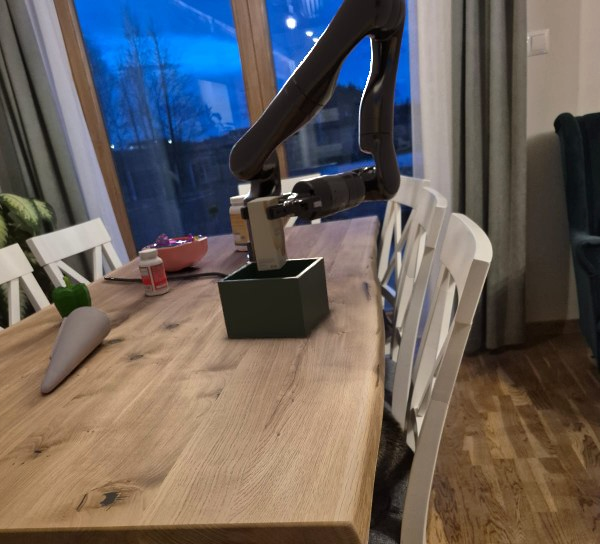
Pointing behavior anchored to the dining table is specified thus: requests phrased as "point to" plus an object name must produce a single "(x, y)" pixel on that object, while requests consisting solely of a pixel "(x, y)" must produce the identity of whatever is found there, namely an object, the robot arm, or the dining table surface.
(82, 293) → the bell pepper
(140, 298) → the dining table surface
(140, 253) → the pill bottle
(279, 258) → the cosmetic box
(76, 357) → the grey cone
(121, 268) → the dining table surface
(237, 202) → the supplement tub
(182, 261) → the cell model
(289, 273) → the trash bin
